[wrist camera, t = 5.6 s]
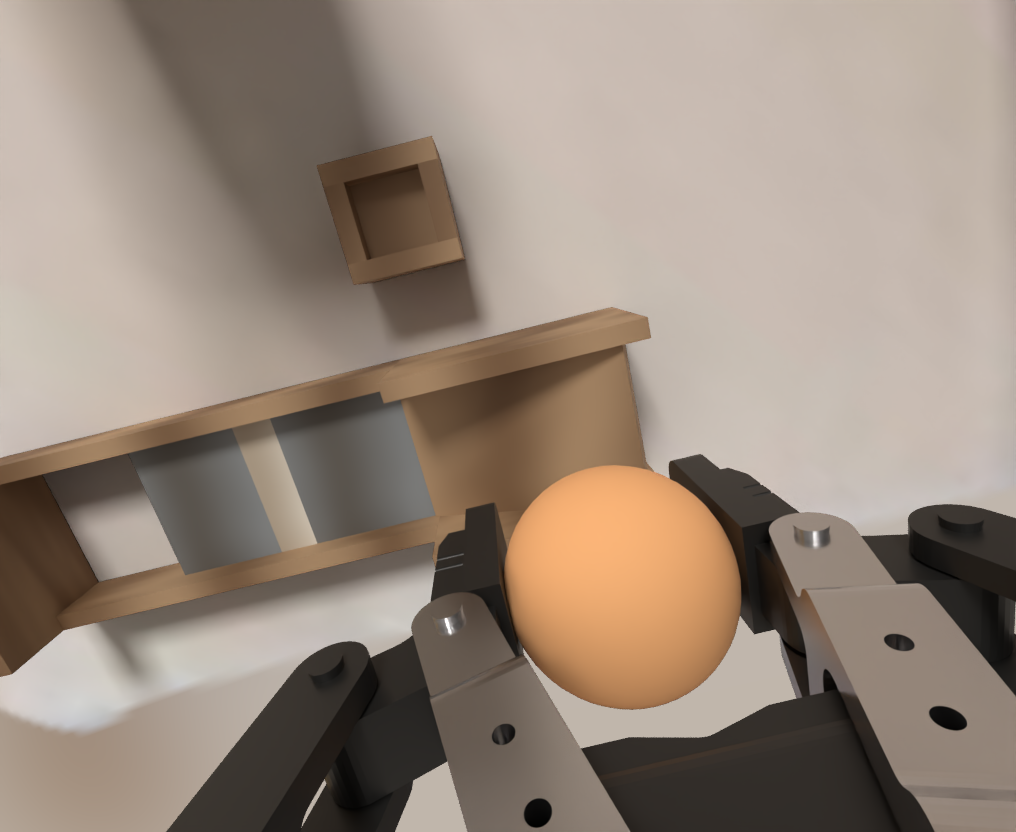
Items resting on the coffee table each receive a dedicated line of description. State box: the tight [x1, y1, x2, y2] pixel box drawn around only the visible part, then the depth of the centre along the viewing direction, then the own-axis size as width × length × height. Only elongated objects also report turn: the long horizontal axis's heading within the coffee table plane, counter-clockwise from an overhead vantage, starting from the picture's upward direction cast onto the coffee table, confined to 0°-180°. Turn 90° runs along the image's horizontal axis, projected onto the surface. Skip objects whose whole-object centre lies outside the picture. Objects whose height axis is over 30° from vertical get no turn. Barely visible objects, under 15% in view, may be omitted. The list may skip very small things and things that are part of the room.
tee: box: [317, 136, 465, 285], centre depth 19 cm, size 4×4×3 cm
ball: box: [504, 465, 741, 710], centre depth 10 cm, size 4×4×4 cm
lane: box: [0, 307, 654, 677], centre depth 21 cm, size 27×7×5 cm, turn 103°
